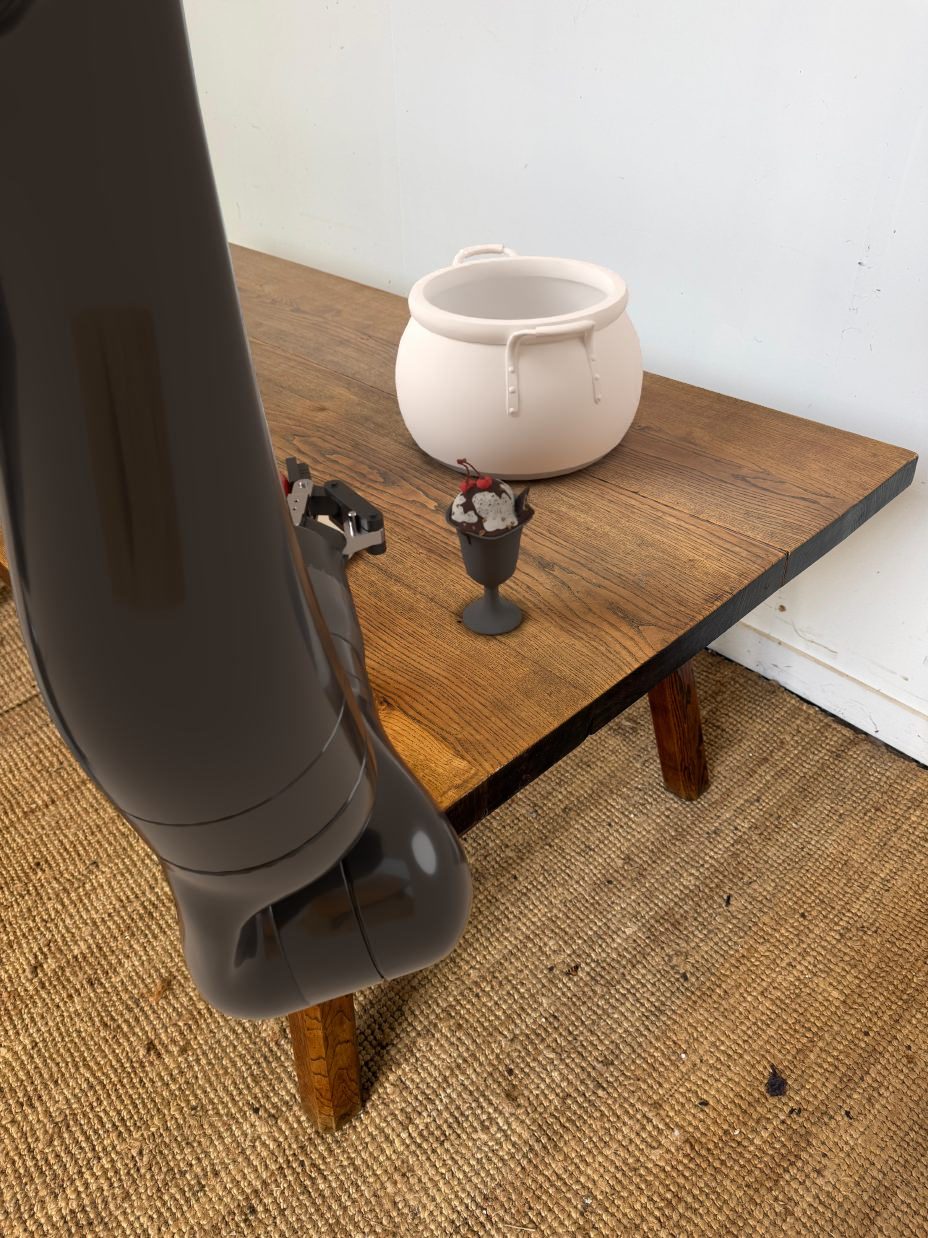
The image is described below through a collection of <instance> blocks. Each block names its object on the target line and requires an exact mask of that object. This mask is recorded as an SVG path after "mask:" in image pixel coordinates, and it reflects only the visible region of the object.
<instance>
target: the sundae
mask: <svg viewBox="0 0 928 1238" xmlns="http://www.w3.org/2000/svg"><path fill="white" fill-rule="evenodd" d="M457 463H458V464H461V465H463V466H464V467H466V469H467V474H466V478H465V480H464V481H462V482H461V484H460V491H461V492H460V493H459V494H458V495H457V496H456V498H455V499H453V500H452V501H451V503H450V504H449V505H448V506H447V509H446V511H445V514H444V515H445V516H444V517H445V518H444V519H445V522H446V524H448V525H449V526H451V527H452V528H454V529H455V531H456V534H457V537H458V540H459V545H460V551H461V556H462V562H463V565H464V569H465V571H466V574H467V576H468V577H469V578H470V579H472V580H473V581H474V582H475V583H476V584H478V585H481V586H483V598H481V599H478V600H475V601H473V602H472V603H471V604H469V605H468V606H466V607H465V609H464V611H463V613H462V622H463V624H464V625H465V626H466V627H467V628H468V629H469V630H471V631H473V632H474V633H477V634H480V635H486V636H496V635H503V634H507V633H509V632H511V631H512V630H514V629H515V628H517V627H518V626H519V625H520V623H521V621H522V619H523V615H522V614H523V613H522V610H521V609H520V607H519V606H517V604H516V603H514V602H512V601H510V600H508V599H505V598H502V597H500V586H501V585H503V584H505V582H507V581H508V580H510V578H511V577H512V576H513V575H514V574H515V572H516V568H517V566H518V565H517V564H518V560H519V554H520V547H521V538H522V534H523V530H524V526H526V525H527V524H528V523H530V522H531V520H533V518H534V515H535V513H536V511H535V509H534V508H533V507H532V506H531V505H530V503H529V502H528V501H529V495H530V489H531V488H530V486H529V485H527V486H526V487H525V488H524V489H522V491H520V493H519V494H516V493H514V492H513V490H512V488H511V486H510V485H509V484H508V483H505V482H504V481H502V480H500V479H494V478H490V477H488V476H481V474H480V473H479V472H478V471H477V470H476V469H475V468H474V467H473V466H472V465H471V464H470V463H468V462H466V458H464V459H457ZM463 463H466V464H468V465H469V466H471V467H472V469H473V470H474V471H475V472H476V473H477V474H478V475H479V477H478V478H477V480H476V481H474V480H471V479H470V476H471V475H470V473H469V469H468V467H467V466H466V465H464V464H463Z"/></svg>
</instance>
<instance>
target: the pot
mask: <svg viewBox="0 0 928 1238" xmlns="http://www.w3.org/2000/svg"><path fill="white" fill-rule="evenodd" d="M487 254H489V255H490V254H496V255H502V254H505V255H507V256H499V257H490V258H482V259H476V260H475V259H474V260H470V261H465V262H463V261H464V260H465V259H468V258H471V257H474V256H479V255H487ZM629 296H630V292H629V289H628V286H627V284H626V281H625V280H624V278H622V276H621V275H619V273H616V272H615V271H613V270H611V269H609V268H608V267H604V266H601V265H599V264H597V263H592V262H588V261H585V260H578V259H573V258H566V257H557V256H556V257H555V256H543V255H542V256H540V255H539V256H536V255H521V254H520V253H518V252H517V251H516V250H515V249H514V248H511V247H507V246H505V244H503V243H487V244H478V245H470V246H468V247H464V248H461V249H459V250H458V253H457V254H455V256H454V259H453V262H452V264H451V265H449V266H446V267H443V268H440V269H436V270H435V271H432V272H430V273H427V274H426V275H425V276H423V277H421V278H420V279H419V280H417V281H416V282H415V284H413V286H412V287H411V289H410V292H409V295H408V299H407V302H408V303H407V304H408V309H409V313H410V315H411V316H410V318H409V320H408V323H407V325H406V327H405V329H404V331H403V332H402V335H401V337H400V340H399V345H398V349H397V354H396V355H397V356H396V361H395V374H394V375H395V378H394V380H395V381H394V382H395V389H396V397H397V402H398V408H399V411H400V414H401V416H402V419H403V421H404V424H405V427H406V429H407V430H408V432H409V434H410V435H411V436H412V439H413V440H414V442H416V444H417V445H418V447H419V448H420V449H421V450H422V451H424V452H425V453H426V454H427V455H429V456H430V457H431V458H432V459H433V460H435V461H436V462H437V463H438V464H440V465H442V466H445V467H446V468H449V469H451V470H452V471H455V472H458V473H462V474H466V475H467V469H466V467H464V466H463V465H461V464H458V463H457V459H464V458H466V462H468V463H470V464H471V465H472V466H473V467H474V468H475V469H476V470H477V471H478V472H479V473H480V474H481V476H488V477H490V478H494V479H498V480H500V481H502V480H504V481H531V480H539V479H548V478H554V477H559V476H563V475H568V474H571V473H574V472H577V471H579V470H582V469H585V468H586V467H589V466H591V465H593V464H595V463H596V462H599V461H600V460H601V459H602V458H603V457H605V456H606V455H607V454H608V453H610V452H611V451H612V450H613V449H614V448H615V447H617V446H618V445H619V444H620V442H621V441H622V439H623V438H624V436H625V435H626V433H627V432H628V430H629V428H630V427H631V425H632V423H633V421H634V420H635V419H634V418H635V416H636V414H637V410H638V408H639V404H640V400H641V396H642V395H641V394H642V388H643V379H644V363H643V362H644V361H643V359H644V358H643V353H642V348H641V343H640V338H639V335H638V332H637V329H636V328H635V325H634V324H633V322H632V320H631V318H630V316H629V314H628V312H627V310H626V309H627V307H628V303H629ZM463 464H464V465H466V466H467V467H468V469H469V473H470V475H469V476H473V477H478V478H480V477H479V475H478V474H477V473H476V472H475V471H474V470H473V469H472V467H471V466H469V465H468V464H466V463H463Z"/></svg>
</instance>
